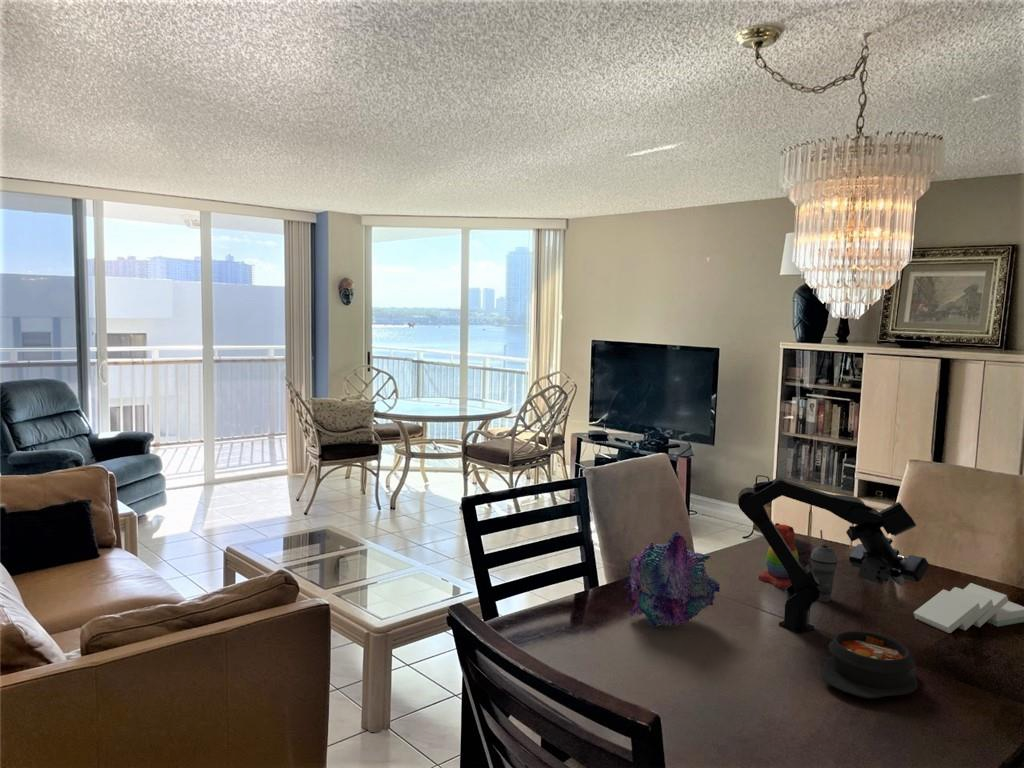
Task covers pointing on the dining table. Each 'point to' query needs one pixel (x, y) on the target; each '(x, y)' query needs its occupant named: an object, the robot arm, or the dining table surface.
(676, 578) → the coral
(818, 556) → the beverage cup
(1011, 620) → the domino
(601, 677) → the dining table surface
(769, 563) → the stacking bear
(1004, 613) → the domino
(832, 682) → the casserole
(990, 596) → the domino
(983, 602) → the domino
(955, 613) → the domino
